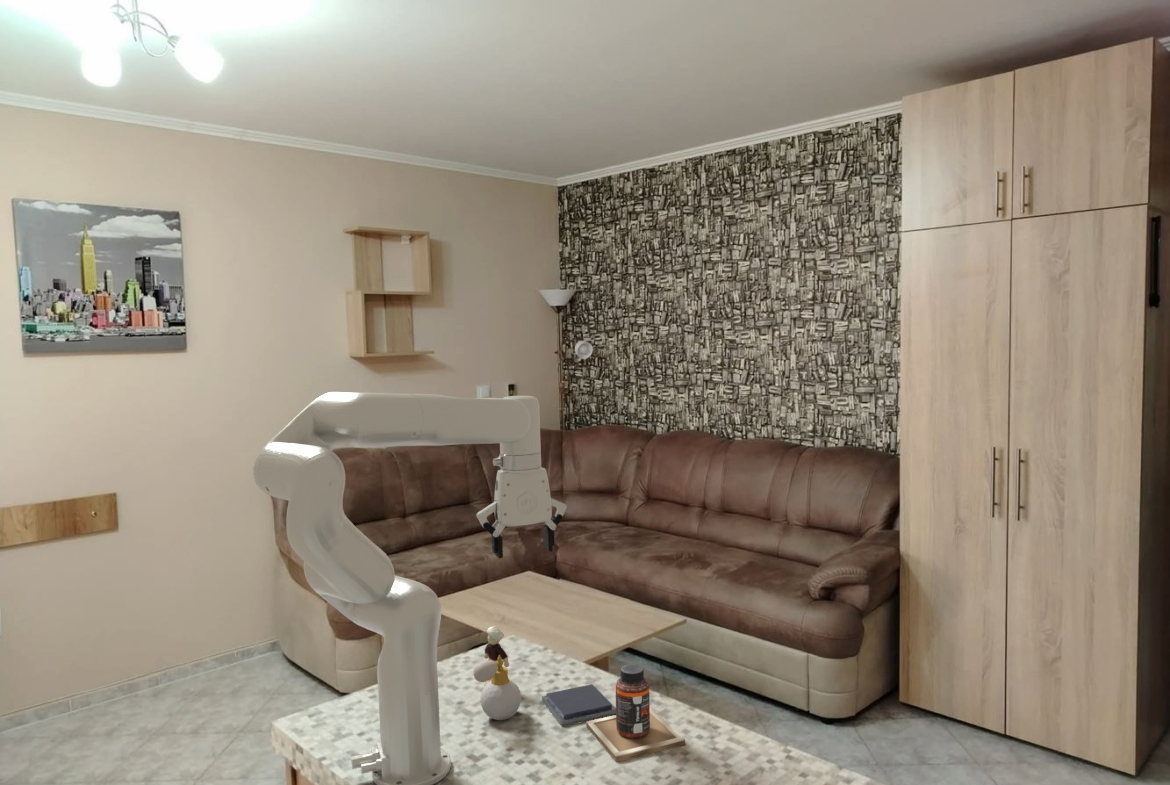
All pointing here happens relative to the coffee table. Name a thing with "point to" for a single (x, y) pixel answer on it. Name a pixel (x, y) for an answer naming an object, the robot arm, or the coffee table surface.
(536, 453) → the robot arm
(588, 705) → the pad
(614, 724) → the framed board
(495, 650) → the grandmother figurine
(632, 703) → the supplement bottle
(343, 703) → the coffee table surface
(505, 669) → the perfume bottle
